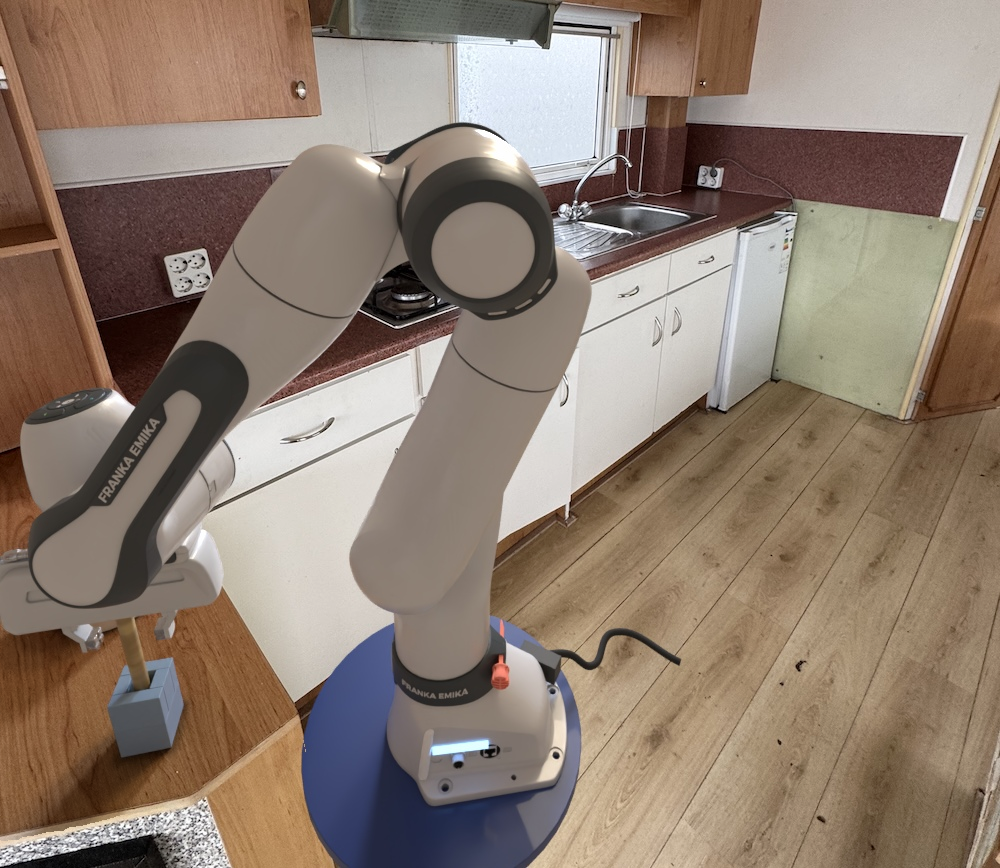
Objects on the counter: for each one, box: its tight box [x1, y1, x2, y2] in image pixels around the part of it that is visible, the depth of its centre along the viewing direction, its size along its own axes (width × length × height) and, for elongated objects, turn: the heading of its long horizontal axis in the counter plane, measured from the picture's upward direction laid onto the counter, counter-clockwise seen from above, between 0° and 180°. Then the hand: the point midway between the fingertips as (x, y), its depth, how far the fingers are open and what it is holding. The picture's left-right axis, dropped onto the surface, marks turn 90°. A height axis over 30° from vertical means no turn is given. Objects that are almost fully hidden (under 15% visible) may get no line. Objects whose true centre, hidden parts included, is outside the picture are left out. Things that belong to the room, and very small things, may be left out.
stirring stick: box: [116, 617, 151, 692], centre depth 65 cm, size 2×2×15 cm
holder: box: [106, 657, 185, 758], centre depth 67 cm, size 5×5×8 cm
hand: (130, 640), depth 64 cm, fingers open, 6 cm apart
